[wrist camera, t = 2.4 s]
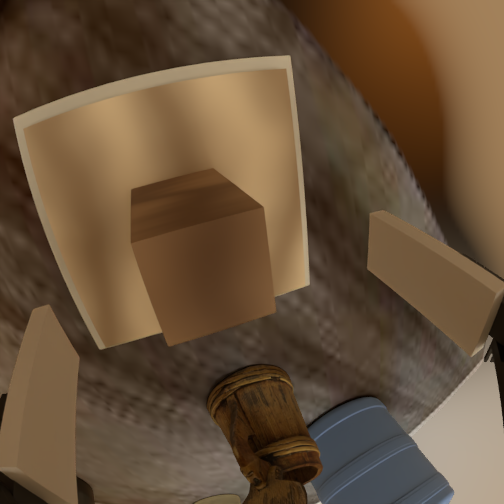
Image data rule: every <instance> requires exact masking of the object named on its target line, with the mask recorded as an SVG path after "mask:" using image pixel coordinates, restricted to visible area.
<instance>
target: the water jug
mask: <svg viewBox="0 0 504 504" xmlns="http://www.w3.org/2000/svg"><path fill="white" fill-rule="evenodd" d="M308 432H309V434H310V437H311V438H312V439H313V440H314V441H315V442H316V444H317V446H318V449H319V451H320V457H319V458H320V460H321V463H322V465H323V470H322V472H321V474H320V475H319V476H318V477H317V478H315V479H314V480H312V481H311V483H312V485H313V487H314V488H315V490H316V492H317V495H318V498H319V499H320V501H321V503H322V504H449V502H450V500H451V499H452V497H453V495H454V490H453V489H452V488H451V487H450V486H449V483H448V481H447V480H446V479H445V478H444V476H443V475H442V474H441V473H439V472H438V471H437V470H436V469H435V468H434V466H433V465H432V464H431V463H430V462H429V460H428V459H427V458H426V457H425V456H424V454H423V453H422V452H421V451H420V450H419V448H418V446H417V444H416V443H415V442H414V440H413V439H412V438H411V437H410V436H409V435H408V434H406V432H405V431H404V430H403V429H402V428H401V426H400V425H399V424H398V423H397V422H396V420H395V419H394V418H393V417H392V416H391V415H390V413H389V412H388V411H387V408H386V407H385V405H384V404H383V403H382V402H381V401H380V400H379V399H377V398H373V397H363V398H359V399H355V400H352V401H350V402H347V403H345V404H343V405H341V406H339V407H337V408H335V409H333V410H332V411H330V412H328V413H327V414H325V415H324V416H322V417H321V418H320V419H318V420H317V421H316V422H315V423H313V424H312V425H311V426H310V427H309V428H308Z"/></svg>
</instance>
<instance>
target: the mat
mask: <svg viewBox="0 0 504 504" xmlns="http://www.w3.org/2000/svg"><path fill="white" fill-rule="evenodd" d="M272 69H286V70H287V78H288V85H289V94H290V102H291V111H292V120H293V129H294V139H295V149H296V159H297V170H298V181H299V193H300V206H301V220H302V234H303V250H304V268H305V286H308V285H310V282H309V259H308V240H307V223H306V208H305V194H304V181H303V169H302V157H301V146H300V136H299V126H298V117H297V108H296V99H295V90H294V82H293V74H292V66H291V59H290V56H269V57H255V58H243V59H233V60H225V61H216V62H209V63H202V64H196V65H189V66H184V67H178V68H173V69H167V70H162V71H158V72H153V73H148V74H144V75H140V76H135V77H131V78H127V79H123V80H120V81H116V82H112V83H109V84H105V85H102V86H98V87H95V88H92V89H89V90H85V91H82V92H79V93H76V94H73V95H70V96H67V97H65V98H62V99H59V100H56V101H54V102H51V103H48V104H46V105H43V106H41V107H38V108H36V109H33V110H31V111H28V112H26V113H24V114H21V115H19V116H17V117H14V118H13V122H14V127H15V131H16V136H17V140H18V145H19V149H20V153H21V157H22V161H23V165H24V168H25V172H26V176H27V179H28V183H29V186H30V189H31V193H32V196H33V199H34V202H35V205H36V208H37V211H38V214H39V217H40V220H41V223H42V225H43V228H44V231H45V234H46V236H47V239H48V242H49V244H50V247H51V249H52V252H53V254H54V257H55V259H56V262H57V264H58V266H59V269H60V271H61V273H62V276H63V278H64V280H65V282H66V285H67V287H68V289H69V291H70V293H71V295H72V297H73V300H74V302H75V304H76V306H77V308H78V310H79V312H80V314H81V316H82V318H83V320H84V322H85V324H86V326H87V327H88V329H89V331H90V333H91V335H92V337H93V339H94V340H95V342H96V344H97V346H98V348H99V349H100V350H101V349H104V348H106V347H105V345H104V344H103V342H102V340H101V338H100V336H99V334H98V332H97V330H96V329H95V327H94V325H93V323H92V321H91V319H90V317H89V315H88V313H87V311H86V309H85V307H84V304H83V302H82V300H81V298H80V296H79V294H78V292H77V289H76V287H75V285H74V283H73V280H72V278H71V276H70V274H69V271H68V269H67V266H66V264H65V262H64V259H63V257H62V254H61V252H60V249H59V247H58V244H57V241H56V239H55V236H54V233H53V231H52V228H51V225H50V222H49V219H48V217H47V214H46V211H45V208H44V205H43V201H42V198H41V195H40V192H39V189H38V185H37V182H36V178H35V175H34V171H33V168H32V164H31V160H30V156H29V152H28V148H27V144H26V139H25V135H24V130H23V129H24V128H26V127H29V126H31V125H34V124H36V123H39V122H41V121H44V120H46V119H49V118H51V117H54V116H57V115H60V114H62V113H65V112H68V111H71V110H74V109H77V108H80V107H83V106H86V105H89V104H92V103H95V102H99V101H102V100H105V99H109V98H112V97H116V96H120V95H123V94H127V93H131V92H135V91H139V90H143V89H148V88H152V87H156V86H161V85H166V84H171V83H176V82H181V81H186V80H192V79H198V78H204V77H210V76H217V75H224V74H232V73H240V72H250V71H260V70H272ZM305 286H303V287H305ZM301 288H302V287H301ZM298 289H299V288H298ZM295 290H296V289H295ZM292 291H293V290H292ZM289 292H290V291H289ZM286 293H287V292H286ZM283 294H285V293H283ZM280 295H282V294H280ZM277 296H279V295H277ZM275 297H276V296H275ZM160 333H162V332H160ZM157 334H158V333H157ZM153 335H155V334H153ZM150 336H151V335H150ZM146 337H148V336H146ZM143 338H144V337H143ZM139 339H141V338H139ZM136 340H137V339H136ZM132 341H134V340H132ZM129 342H130V341H129ZM125 343H127V342H125ZM121 344H123V343H121ZM118 345H119V344H118ZM114 346H116V345H114ZM110 347H112V346H110ZM107 348H108V347H107Z"/></svg>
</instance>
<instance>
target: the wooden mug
mask: <svg viewBox="0 0 504 504" xmlns="http://www.w3.org/2000/svg"><path fill="white" fill-rule="evenodd" d="M207 409H208V411H209V413H210V415H211V417H212V419H213V421H214V422H215V424H217V425H218V426H220V428H221V430H222V432H223V433H224V435H225V437H226V439H227V440H228V442H229V444H230V446H231V447H232V451H233V453H234V455H235V458H236V460H237V462H238V464H239V466H240V471H241V472H242V474H243V475H244V476H245V477H246V479H247V480H248V481H249V482H250V492H249V494H248V496H247V498H246V499H245V501H244V502H243V504H307V493H306V490H305V487H304V486H303V485H305V484H306V483H308V482H310V481H312V480H314V479H315V478H317V477H318V476H319V475H320V474H321V472H322V470H323V465H322V463H321V460H320V458H319V457H320V451H319V449H318V446H317V444H316V442H315V441H314V440H313V439H312V438H311V437H310V434H309V432H308V429H307V427H306V424H305V422H304V419H303V417H302V414H301V412H300V409H299V407H298V404H297V401H296V399H295V396H294V394H293V386H292V383H291V380H290V378H289V376H288V374H287V373H286V372H285V371H284V370H282V369H281V368H279V367H275V366H269V365H257V366H250V367H248V368H245V369H243V370H240V371H237V372H236V373H234V374H232V375H230V376H228V377H227V378H226V379H224V380H223V381H222V382H220V383H219V384H218V385H217V386H216V387H215V388H214V389H213V391H212V392H211V394H210V396H209V398H208V402H207Z"/></svg>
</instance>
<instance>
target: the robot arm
mask: <svg viewBox="0 0 504 504" xmlns="http://www.w3.org/2000/svg"><path fill="white" fill-rule="evenodd" d="M367 269H368V270H369V271H371V272H372V273H373V274H374V275H375V276H377V277H378V278H379V279H380V280H382V281H383V282H384V283H385V284H387V285H388V286H389V287H390V288H391V289H393V290H394V291H395V292H396V293H398V294H399V295H400V296H401V297H402V298H404V299H405V300H406V301H407V302H408V303H410V304H411V305H412V306H413V307H414V308H416V309H417V310H418V311H419V312H420V313H421V314H423V315H424V316H425V317H426V318H427V319H428V320H430V321H431V322H432V323H433V324H434V325H435V326H437V327H438V328H439V329H440V330H441V331H442V332H443V333H445V334H446V335H447V336H448V337H449V338H450V339H451V340H453V341H454V342H455V343H456V344H457V345H458V346H459V347H460V348H462V349H463V350H464V351H465V352H466V353H467V354H468V355H469V356H470V357H472V356H473V355H474V354H476V353H477V352H478V351H479V350H481V349H482V348H483V346H484V344H485V342H486V340H487V337H488V335H490V336H491V337H492V338H493V340H492V342H491V345H490V347H489V349H488V351H487V353H486V355H485V357H484V362H487V360H488V358H489V356H490V354H491V353H492V354H493V356H492V358H491V361H490V362H494V363H495V369H496V374H497V380H498V385H499V392H500V400H501V407H502V416H503V426H504V279H502V278H501V277H499V276H498V275H496V274H495V273H493V272H492V271H490V270H489V269H487V268H486V267H485V268H484V267H483V265H481V264H479V263H476V262H475V260H473V259H472V258H470V257H468V256H467V255H464V254H462V253H459V252H456V251H455V250H453V249H451V248H450V247H448V246H447V245H445V244H443V243H442V242H440V241H438V240H436V239H435V238H433V237H431V236H430V235H428V234H426V233H424V232H423V231H421V230H419V229H417V228H416V227H414V226H412V225H410V224H408V223H407V222H405V221H403V220H401V219H399V218H397V217H396V216H394V215H392V214H390V213H388V212H386V211H384V210H381V211H377V212H374V213H370V225H369V247H368V263H367ZM79 359H80V357H79V356H78V354H77V352H76V351H75V349H74V348H73V346H72V344H71V343H70V341H69V339H68V337H67V336H66V334H65V332H64V331H63V329H62V327H61V325H60V323H59V322H58V320H57V318H56V316H55V314H54V312H53V311H52V309H51V307H50V305H45V306H42V307H38V308H35V309H33V311H32V313H31V316H30V319H29V322H28V325H27V328H26V331H25V334H24V337H23V340H22V343H21V346H20V350H19V353H18V356H17V360H16V363H15V367H14V371H13V374H12V378H11V382H10V386H9V390H8V393H6V394H2V396H1V398H0V504H95V503H94V494H93V490H92V488H91V487H90V486H89V485H88V484H86V483H85V482H84V481H82V480H80V479H78V478H76V456H75V425H76V398H77V382H78V370H79Z"/></svg>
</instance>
